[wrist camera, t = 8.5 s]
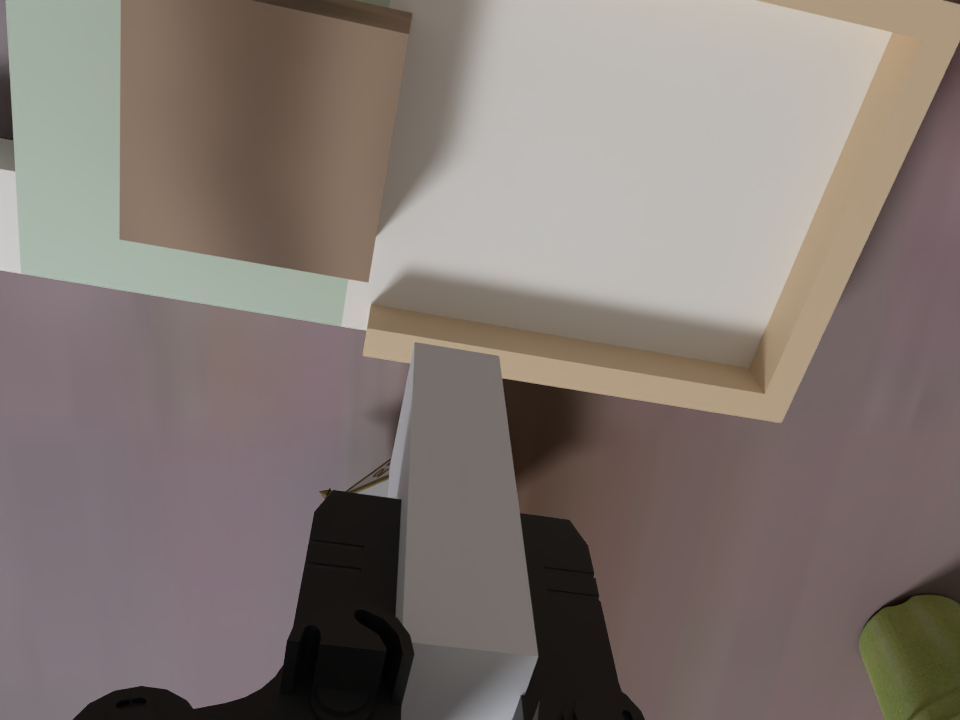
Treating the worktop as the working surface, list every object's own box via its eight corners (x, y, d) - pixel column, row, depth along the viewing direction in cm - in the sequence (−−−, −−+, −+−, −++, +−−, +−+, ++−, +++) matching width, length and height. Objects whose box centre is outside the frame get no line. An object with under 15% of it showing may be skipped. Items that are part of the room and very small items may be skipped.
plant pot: (874, 557, 46) (961, 694, 38) (1029, 582, 47) (1141, 719, 39) (801, 674, 50) (865, 818, 42) (944, 694, 51) (1030, 836, 44)
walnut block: (155, 197, 31) (119, 239, 27) (161, -43, 27) (120, -28, 23) (375, 237, 32) (368, 282, 28) (412, 12, 28) (408, 34, 25)
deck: (-275, 187, 33) (-382, 236, 29) (-393, -328, 25) (-565, -367, 21) (743, 360, 39) (781, 423, 35) (900, -13, 31) (974, 8, 27)
